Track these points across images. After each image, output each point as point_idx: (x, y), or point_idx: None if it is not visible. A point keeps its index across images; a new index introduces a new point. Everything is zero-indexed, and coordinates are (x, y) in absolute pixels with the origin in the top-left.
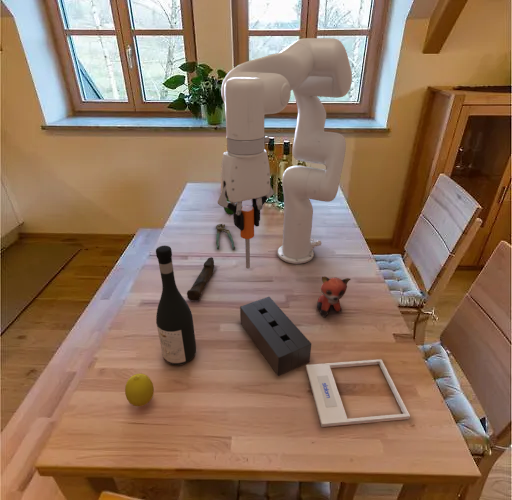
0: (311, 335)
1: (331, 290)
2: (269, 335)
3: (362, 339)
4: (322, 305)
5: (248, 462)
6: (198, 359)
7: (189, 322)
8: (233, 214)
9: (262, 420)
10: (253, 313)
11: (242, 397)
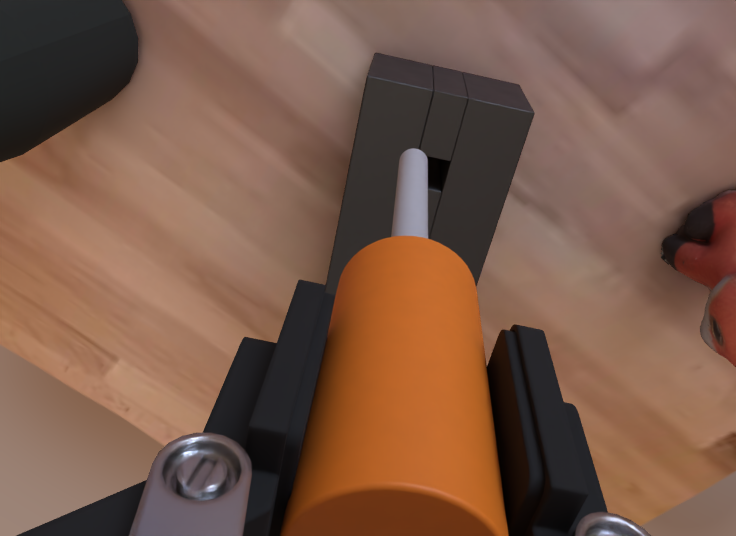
0: (539, 280)
1: (725, 348)
2: None
3: (643, 389)
4: (688, 259)
5: (126, 414)
6: (134, 103)
7: (16, 156)
8: (207, 423)
9: (204, 375)
10: (385, 157)
11: (194, 303)
